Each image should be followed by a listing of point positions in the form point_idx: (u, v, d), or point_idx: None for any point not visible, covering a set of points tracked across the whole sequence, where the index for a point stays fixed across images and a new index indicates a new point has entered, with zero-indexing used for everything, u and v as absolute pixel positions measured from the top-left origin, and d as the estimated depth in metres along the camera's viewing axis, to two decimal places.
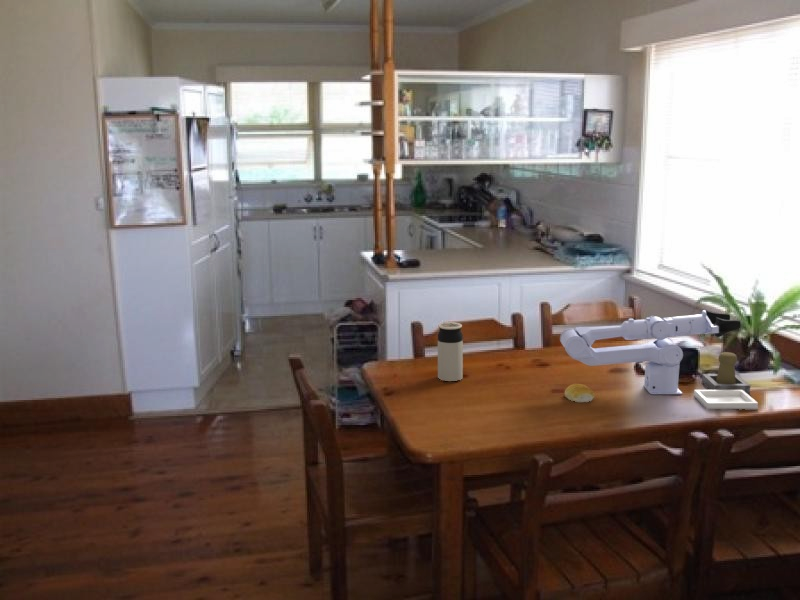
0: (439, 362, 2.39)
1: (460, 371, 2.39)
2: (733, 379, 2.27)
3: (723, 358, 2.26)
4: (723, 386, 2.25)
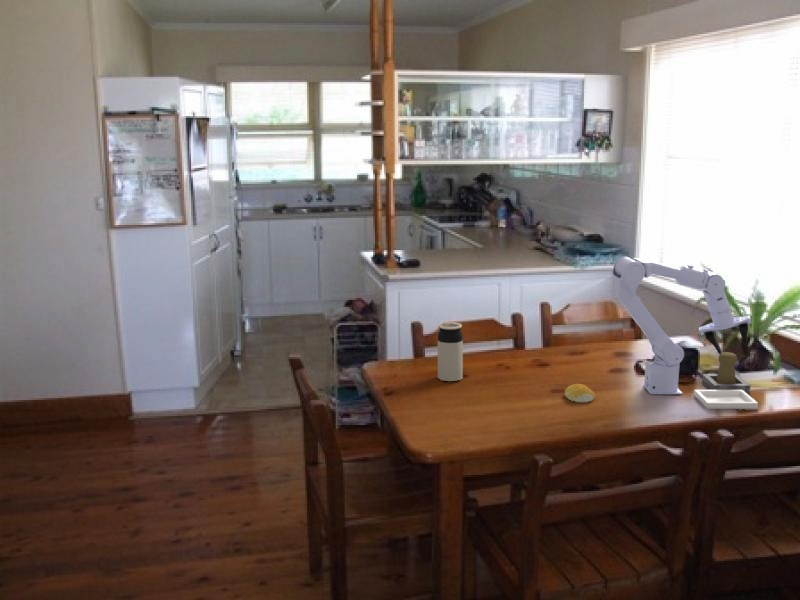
0: (439, 362, 2.39)
1: (460, 371, 2.39)
2: (733, 379, 2.27)
3: (723, 358, 2.26)
4: (723, 386, 2.25)
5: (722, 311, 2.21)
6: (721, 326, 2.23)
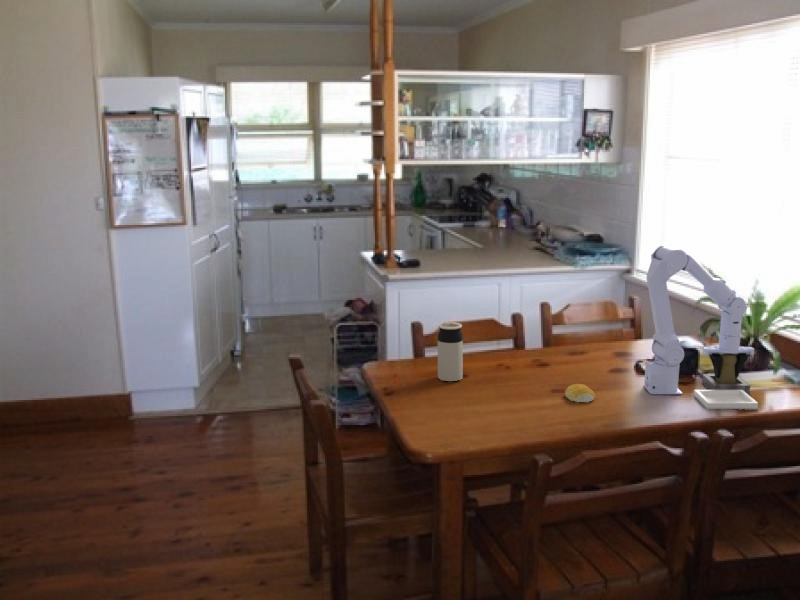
0: (439, 362, 2.39)
1: (460, 371, 2.39)
2: (733, 379, 2.27)
3: (723, 357, 2.26)
4: (723, 386, 2.25)
5: (733, 335, 2.23)
6: (730, 350, 2.24)
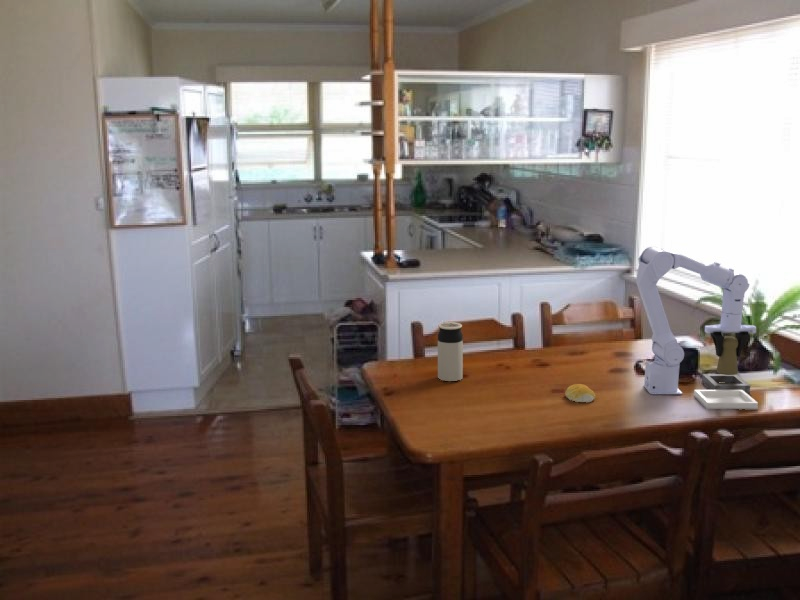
0: (439, 362, 2.39)
1: (460, 371, 2.39)
2: (735, 363, 2.26)
3: (725, 342, 2.25)
4: (723, 386, 2.25)
5: (735, 313, 2.21)
6: (731, 328, 2.22)
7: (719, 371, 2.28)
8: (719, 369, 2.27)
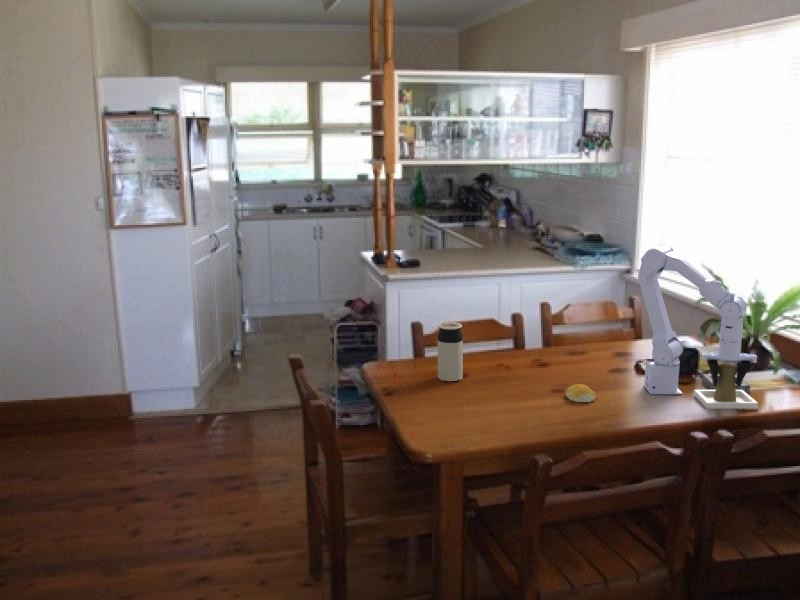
0: (439, 362, 2.39)
1: (460, 371, 2.39)
2: (732, 391, 2.16)
3: (722, 368, 2.15)
4: None
5: (726, 340, 2.11)
6: (729, 356, 2.12)
7: (716, 398, 2.18)
8: (716, 396, 2.18)
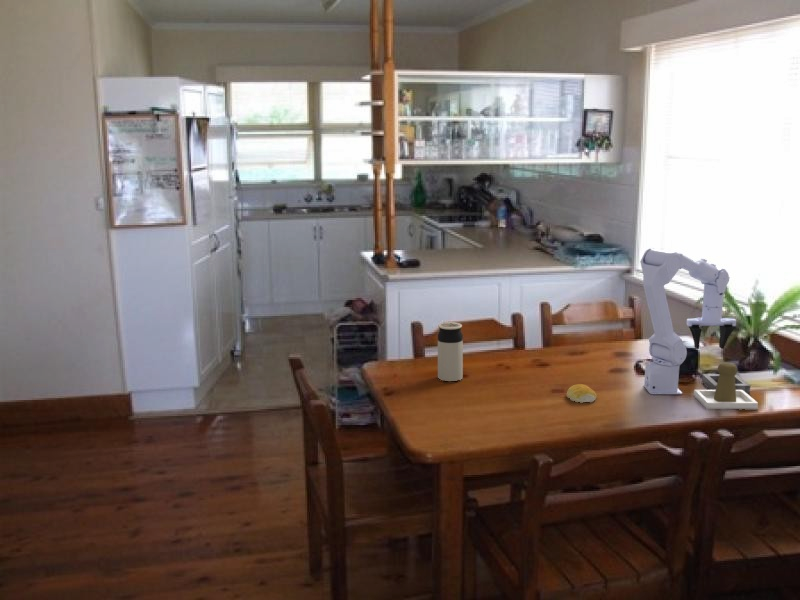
0: (439, 362, 2.39)
1: (460, 371, 2.39)
2: (732, 391, 2.16)
3: (722, 368, 2.15)
4: None
5: (719, 306, 2.29)
6: (712, 321, 2.30)
7: (716, 398, 2.18)
8: (716, 396, 2.18)
